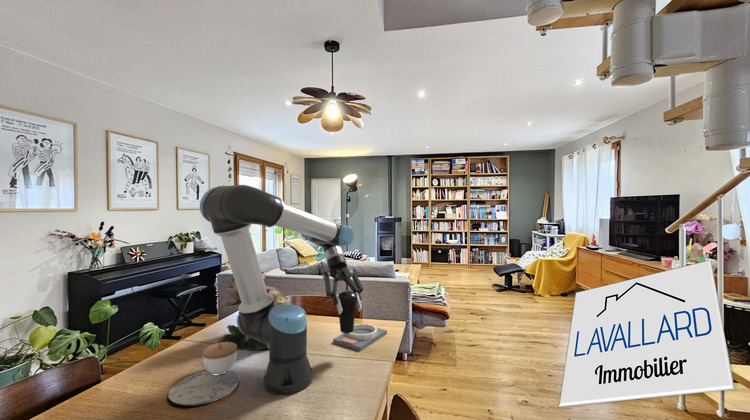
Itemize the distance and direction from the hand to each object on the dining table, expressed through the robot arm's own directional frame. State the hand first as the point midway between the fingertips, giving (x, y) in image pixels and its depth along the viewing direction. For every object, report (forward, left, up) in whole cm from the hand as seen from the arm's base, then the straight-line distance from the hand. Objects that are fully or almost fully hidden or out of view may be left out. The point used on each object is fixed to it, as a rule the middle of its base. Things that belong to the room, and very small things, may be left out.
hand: (350, 310), depth 118 cm
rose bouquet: (-5, +46, -18) cm, 49 cm away
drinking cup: (+2, +3, -9) cm, 9 cm away
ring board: (+17, +8, -18) cm, 26 cm away
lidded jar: (-31, +33, -18) cm, 49 cm away
